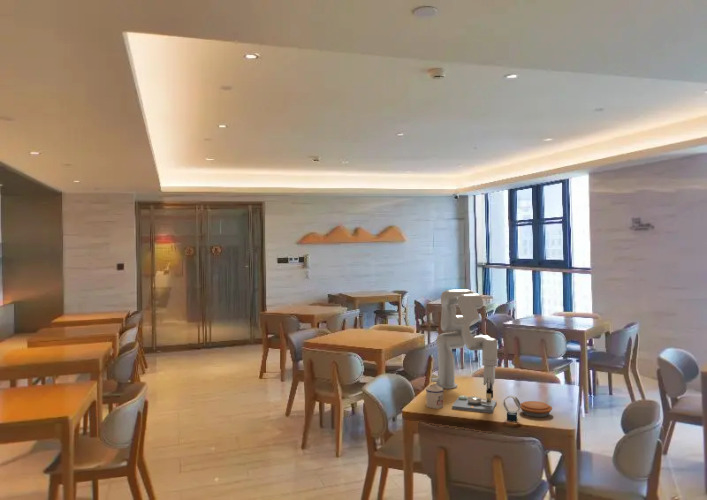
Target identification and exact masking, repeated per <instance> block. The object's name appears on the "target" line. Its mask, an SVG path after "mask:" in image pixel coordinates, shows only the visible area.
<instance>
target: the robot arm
mask: <svg viewBox="0 0 707 500" xmlns="http://www.w3.org/2000/svg"><path fill="white" fill-rule="evenodd" d="M440 303H441V304H440V305H441V313H440V314H441V316H440V329H441V331H443V332H442V333H440V334H438V335H437V337H436V345H437V347H436V348H437V357H438V358H437V359H438V360H437V363H438V372H437V373H438V374H437V375H438V376H437V378H436V377H435V378H434V377H432V378H431V382H432V383H435V384H437V386H439V387H441V388H443V389H447V390H448V389H451V390H453V389H456V388H457V387H458V384H457V383H455V380H456V379H455V354H454V353H453V352H452V350H454V349H462V348H465V347H466V348H467V349H468V350H469V351H481V355H482V356H481V359H482V360H481V365H482V366H483V383H482V384H483V386H485V385H486V391H485V393H486V394H485V395H486V399H487V393H491V399H493V398H494V389H493V388H494V384H495V379H496V367H498V340H497V339H496V338H495V337H491V336H490V335H486V334H485V335H472V333H471V331H470V327H471V326H473V325H474V324H477V322H479V321H480V319H481V317H480V314H479V312H478V309H482V308H483V306H484V299H483V297H482V296H481V294H480V293H478V292H476V291H474V290H470V289H447V290H444V291H443V292H441V295H440ZM456 305H458V308H459V310H460V312H461V314H457V306H456Z"/></svg>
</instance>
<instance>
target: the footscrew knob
mask: <svg viewBox="0 0 707 500" xmlns="http://www.w3.org/2000/svg"><path fill="white" fill-rule="evenodd" d="M467 398H468V403H470V404H486V405H491V404H492V402H491V400H492V398H491V393H487V398H486V400H487V401H484V400H485V399H484V400H482V399H483V398H482V397H479V396H467Z"/></svg>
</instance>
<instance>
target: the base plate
mask: <svg viewBox="0 0 707 500" xmlns="http://www.w3.org/2000/svg"><path fill="white" fill-rule="evenodd" d="M482 400H484V401H487V399H484V398H482ZM491 402H492V404H491V405H486V404H470V403H468V396H467V395H458V397H457V399H456V400H455V401H454V403H453V404H452V406H451V409H452V410H459V411H468V412H479V413H485V414H486V413H487V414H493V413H494V410H495V408H496V406H497V400H494V399H493V400H492V399H491Z"/></svg>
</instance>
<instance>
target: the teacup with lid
mask: <svg viewBox="0 0 707 500" xmlns="http://www.w3.org/2000/svg"><path fill="white" fill-rule="evenodd" d="M425 391H426V397H425V398H426V407H427V408H430V409H442V408H444V388H441V387H439V386H437V384H436V382H433V383H432V385H431V386H427V387H426V389H425Z"/></svg>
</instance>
